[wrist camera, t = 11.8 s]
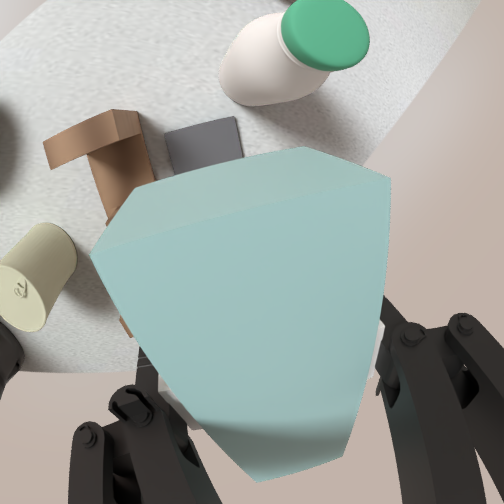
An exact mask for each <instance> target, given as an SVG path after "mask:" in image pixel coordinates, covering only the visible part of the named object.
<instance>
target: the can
mask: <svg viewBox="0 0 504 504" xmlns="http://www.w3.org/2000/svg"><path fill="white" fill-rule="evenodd" d="M76 265H77V254H76V249H75V247H74V244H73V242H72V240H71V239H70V237H69V236H68V235H67V234H66V232H64V231H63V230H62V229H61V228H60V227H58V226H56V225H54V224H51V223H40V224H37V225H35V226H34V227H32V228H31V230H30V231H29V232H28V234H27V235H26V236H25V237H24V238H22V239H21V240H20V241H19V242H18V243H17V244H16V245H15V246H14V247H13V248H12V249H11V250H10V251H9V252H8V253H7V254H6V255H5V256H4V257H3V259H2V260H1V261H0V315H1V316H2V318H3V319H5V320H6V321H7V322H8V323H9V324H11V325H12V326H14V327H15V328H17V329H19V330H22V331H25V332H36V331H39V330H40V329H42V328H43V326H44V325H45V323H46V320H47V317H48V315H49V313H50V311H51V309H52V307H53V305H54V303H55V302H56V300H57V298H58V296H59V294H60V292H61V291H62V289H63V287H64V286H65V284H66V282H67V280H68V279H69V277H70V276H71V275H72V274H73V273H74V271H75V269H76Z"/></svg>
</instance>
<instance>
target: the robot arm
mask: <svg viewBox="0 0 504 504" xmlns="http://www.w3.org/2000/svg"><path fill="white" fill-rule="evenodd" d="M138 358H139V359H138V363H137V367H138V368H137V373H136V382H135V385H127V386H124V387H122V388H120V389H118V390H117V391H116V392H115V393H114V394H113V395H112V397H111V399H110V401H109V409H108V410H109V411H110V412H111V413H113V414H114V415H115V416H116V417H117V418H118V419H119V421H117V422H114V423H112V424H109V425H106V426H104V427H101V426H100V425H98V424H97V423H95V422H85V423H83V424H82V425H80V426H79V427H78V428H77V429H76V431H75V433H74V436H73V441H72V450H71V459H70V471H69V490H68V504H222V502H221V500H220V498H219V496H218V494H217V493H216V491H215V489H214V487H213V485H212V483H211V481H210V478H209V476H208V474H207V472H206V470H205V468H204V466H203V464H202V461H201V459H200V457H199V455H198V452H197V450H196V448H195V445H194V443H193V441H192V440H191V439H190V437H189V436H188V431H187V425H188V426H189V427H190V428H191V429H192V430H197V429H203V428H202V427H201V426H200V425H199V424H198V422H197V421H196V420H195V419H194V418H193V416H192V415H191V414H190V413H189V412H188V411H187V409H186V408H185V407H184V406H183V404H182V403H181V402H180V401H179V399H178V398H177V397H176V396H175V394H174V393H173V392H172V390H171V389H170V388H169V386H168V385H167V384H166V382H165V381H164V380H163V378H162V377H161V376H160V374H159V373H158V372H157V370H156V369H155V367H154V366H153V364H152V363H151V362H150V360H149V359H148V357H147V356H146V354H145V353H144V351H143V350H142V348H141V347H139V355H138ZM23 362H24V353H23V350H22V348H21V346H20V344H19V343H18V341H17V340H16V338H15V337H14V336H13V334H12V333H11V332H10V331H9V330H8V329H7V328H6V327H5V326H4V325H3V324H2V323H0V399H1V396H2V393H3V391H4V388H5V385H6V383H7V382H8V381H9V380H10V379H11V378H12V377H13V376H14V375H15V374H16V373H17V372H18V371H19V370H20V368H21V366H22V364H23ZM464 365H465V366H466V367H467V368H466V367H465V366H464ZM375 368H376V370H377V372H378V373H379V375H380V379H379V382H378V386H377V388H376V396H378V395H379V393H380V390H381V394H382V398H383V402H384V406H385V410H386V414H387V419H388V423H389V428H390V432H391V437H392V442H393V447H394V451H395V457H396V463H397V468H398V474H399V481H400V488H401V495H402V503H403V504H486V497H485V492H484V487H483V481H482V477H481V472H480V468H479V464H478V460H477V456H476V452H475V449H476V451H477V452H478V454H479V456H480V458H481V459H482V461H483V463H484V465H485V467H486V469H487V470H488V472H489V474H490V476H491V478H492V480H493V482H494V484H495V486H496V488H497V489H498V492H499V494H500V496H501V498H502V500H503V502H504V348H503V347H502V346H501V345H500V344H499V343H498V342H497V340H496V339H495V338H494V337H493V336H492V335H491V334H490V333H489V332H488V331H487V330H486V328H485V327H484V326H483V325H482V324H481V323H480V322H479V321H478V320H477V319H476V318H474V317H473V316H472V315H469V314H467V313H458V314H455V315H453V316H452V317H451V318H450V320H449V323H448V326H443V327H438V328H432V329H426V328H425V327H423V326H421V325H420V324H417V323H413V322H407V321H406V319H405V318H404V317H403V316H402V315H401V314H400V313H399V311H398V310H397V309H396V308H395V307H394V306H393V305H392V304H391V302H390V301H389V300H388V299H387V298H385V296H384V295H383V300H382V307H381V313H380V319H379V325H378V331H377V336H376V341H375V346H374V351H373V355H372V360H371V364H370V368H369V373H368V377H367V379H369V378H371V377H373V375H374V370H375ZM474 447H475V448H474Z"/></svg>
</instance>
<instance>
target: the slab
mask: <svg viewBox="0 0 504 504" xmlns="http://www.w3.org/2000/svg"><path fill="white" fill-rule="evenodd" d="M390 195H391V179H390V178H389V177H387V176H385V175H382V174H380V173H377V172H375V171H372V170H370V169H368V168H365V167H362V166H360V165H357V164H355V163H352V162H349V161H347V160H344V159H341V158H338V157H335V156H333V155H330V154H327V153H324V152H321V151H318V150H315V149H312V148H309V147H305V146H302V147H296V148H291V149H285V150H280V151H274V152H269V153H264V154H259V155H255V156H250V157H245V158H241V159H237V160H232V161H228V162H224V163H220V164H216V165H212V166H208V167H204V168H200V169H196V170H193V171H189V172H185V173H182V174H178V175H175V176H172V177H168V178H165V179H162V180H158V181H155V182H152V183H149V184H146V185H142V186H139V187H136V188H135V189H134V190H133V191H132V193H131V194H130V195H129V197H128V198H127V199H126V201H125V202H124V203H123V205H122V206H121V208H120V209H119V210H118V212H117V213H116V215H115V216H114V218H113V219H112V220H111V222H110V223H109V225H108V226H107V228H106V229H105V231H104V232H103V234H102V235H101V237H100V238H99V240H98V242H97V243H96V245H95V246H94V248H93V249H92V251H91V253H90V254H89V256H90V258H91V260H92V262H93V264H94V266H95V268H96V270H97V272H98V274H99V276H100V278H101V280H102V282H103V284H104V286H105V288H106V290H107V291H108V293H109V295H110V297H111V299H112V301H113V302H114V304H115V306H116V308H117V309H118V311H119V313H120V315H121V316H122V318H123V320H124V321H125V323H126V325H127V326H128V328H129V330H130V331H131V333H132V334H133V336H134V337H135V339H136V341H137V342H138V344H139V345H140V347H141V348H142V350H143V351H144V353H145V354H146V356H147V357H148V359H149V360H150V362H151V363H152V364H153V366H154V367H155V369H156V370H157V372H158V373H159V374H160V376H161V377H162V378H163V380H164V381H165V382H166V384H167V385H168V386H169V388H170V389H171V390H172V392H173V393H174V394H175V396H176V397H177V398H178V399H179V401H180V402H181V403H182V404H183V406H184V407H185V408H186V409H187V411H188V412H189V413H190V414H191V415H192V416H193V418H194V419H195V420H196V421H197V422H198V424H199V425H200V426H201V427H202V428H203V429H204V430H205V431H206V433H207V434H208V435H209V436H210V437H211V438H212V439H213V440H214V441H215V442H216V443H217V444H218V445H219V447H220V448H221V449H222V450H223V451H224V452H225V453H226V454H227V455H228V456H229V457H230V458H231V459H232V460H233V461H234V462H235V463H236V464H237V465H239V467H240V468H242V469H243V470H244V471H245V472H246V473H247V474H248V475H249V476H250V477H251V478H252V479H254V480H255V481H256V482H262V481H266V480H270V479H274V478H278V477H282V476H286V475H290V474H293V473H296V472H300V471H303V470H306V469H309V468H312V467H315V466H318V465H321V464H324V463H327V462H329V461H332V460H335V459H337V458H340V457H342V456H343V453H344V451H345V448H346V445H347V443H348V440H349V437H350V434H351V431H352V428H353V425H354V422H355V419H356V416H357V413H358V409H359V406H360V403H361V399H362V396H363V391H364V388H365V384H366V380H367V377H368V373H369V368H370V364H371V360H372V355H373V351H374V346H375V341H376V336H377V331H378V325H379V319H380V313H381V307H382V300H383V293H384V285H385V276H386V267H387V257H388V244H389V230H390V201H391V198H390V197H391V196H390Z"/></svg>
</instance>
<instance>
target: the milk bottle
mask: <svg viewBox="0 0 504 504" xmlns="http://www.w3.org/2000/svg"><path fill="white" fill-rule="evenodd" d="M369 43H370V37H369V32H368V28H367V26H366V23H365V22H364V20H363V18H362V17H361V15H360V14H359V13H358V12H357V11H356V10H355V9H354V8H353V7H352V6H351V5H350V4H348V3H347V2H345V1H344V0H297V1H296V2H294V3H293V4H292V5H291V6H290V7H289V8H288V9H287V10H286V11H285V12H284V13H273V14H268V15H265V16H262V17H260V18H257V19H255V20H253V21H252V22H250V23H249V24H248V25H246V26H245V27H244V28H243V29H242V30H241V31H240V32H239V34H238V35H237V36H236V38H235V39H234V40H233V42H232V44H231V45H230V47H229V49H228V51H227V52H226V54H225V56H224V58H223V60H222V62H221V65H220V68H219V82H220V85H221V88H222V89H223V91H224V92H225V94H226V95H227V96H228V97H229V98H230V99H232V100H233V101H235V102H237V103H239V104H242V105H245V106H263V105H270V104H277V103H283V102H288V101H293V100H297V99H300V98H303V97H305V96H307V95H309V94H311V93H312V92H314V91H315V90H317V89H318V88H319V87H320V86H321V85H322V84H323V83H324V82H325V80H326V79H327V78H328V76H329V74H330V72H334V71H339V70H344V69H347V68H350V67H353V66H355V65H356V64H358V63H359V62H360V61H361V60H362V59H363V58H364V57H365V55H366V54H367V52H368V49H369Z"/></svg>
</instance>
